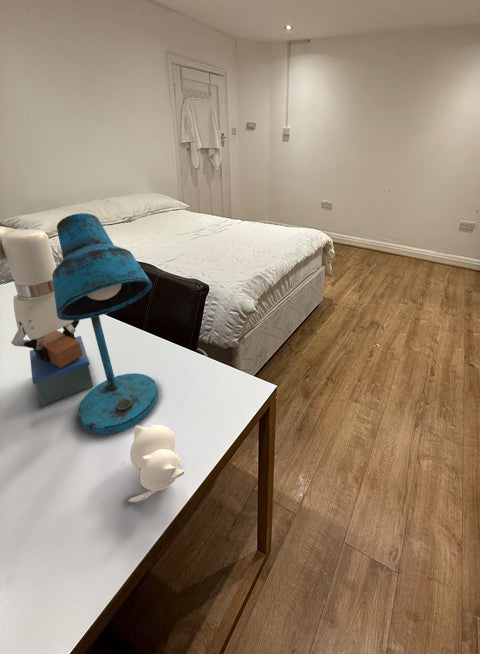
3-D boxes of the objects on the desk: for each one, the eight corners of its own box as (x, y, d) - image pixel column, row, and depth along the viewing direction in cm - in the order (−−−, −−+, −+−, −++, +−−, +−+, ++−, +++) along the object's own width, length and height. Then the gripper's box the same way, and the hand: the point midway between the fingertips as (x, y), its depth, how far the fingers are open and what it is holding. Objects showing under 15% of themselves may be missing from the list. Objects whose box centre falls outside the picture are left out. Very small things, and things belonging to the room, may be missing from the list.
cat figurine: (168, 458, 53) (150, 408, 62) (113, 513, 51) (102, 453, 59) (198, 471, 59) (177, 423, 68) (150, 521, 56) (135, 465, 65)
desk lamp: (99, 466, 61) (40, 244, 44) (70, 399, 75) (17, 212, 58) (179, 418, 72) (156, 225, 55) (141, 367, 86) (113, 201, 69)
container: (37, 375, 82) (29, 350, 79) (86, 358, 88) (80, 335, 85) (41, 407, 73) (32, 380, 70) (95, 386, 79) (88, 361, 76)
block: (34, 352, 77) (29, 338, 76) (56, 341, 82) (52, 327, 80) (60, 368, 73) (56, 353, 71) (83, 355, 77) (79, 341, 76)
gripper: (69, 268, 79) (84, 330, 86) (-20, 297, 65) (7, 369, 72) (88, 275, 76) (102, 339, 83) (-1, 307, 62) (25, 381, 69)
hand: (58, 352), depth 77 cm, fingers closed on block, 5 cm apart
